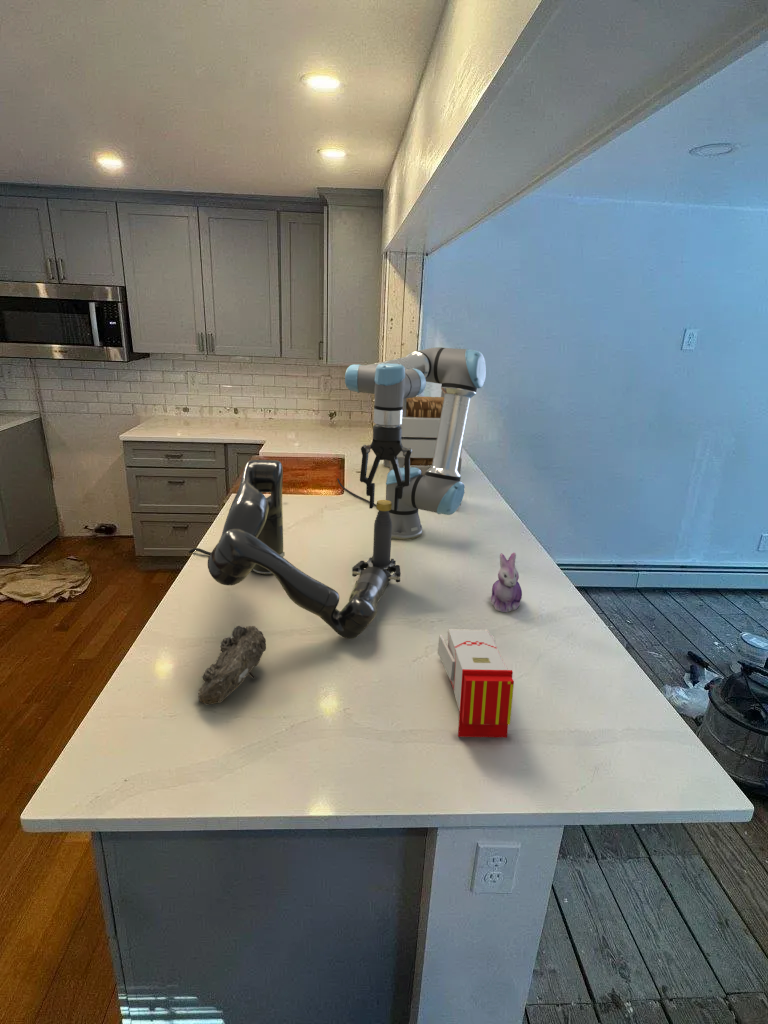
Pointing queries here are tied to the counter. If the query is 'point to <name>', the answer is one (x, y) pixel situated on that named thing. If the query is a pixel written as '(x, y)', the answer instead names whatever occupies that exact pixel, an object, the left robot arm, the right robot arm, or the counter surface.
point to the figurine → (506, 586)
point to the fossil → (232, 664)
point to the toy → (478, 682)
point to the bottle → (382, 539)
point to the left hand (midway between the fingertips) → (383, 560)
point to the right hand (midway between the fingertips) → (383, 508)
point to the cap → (383, 505)
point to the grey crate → (420, 430)
